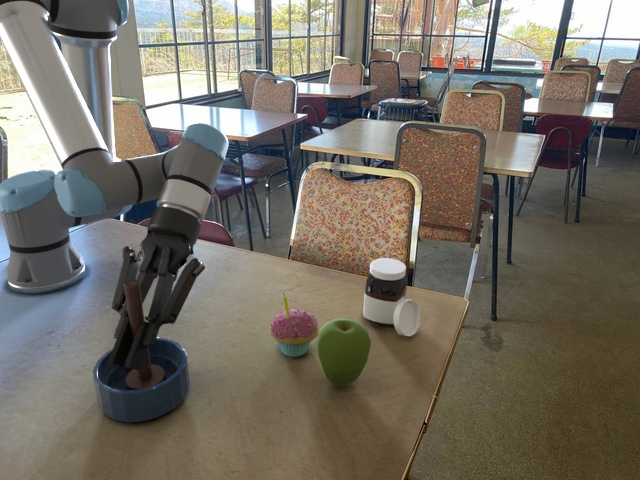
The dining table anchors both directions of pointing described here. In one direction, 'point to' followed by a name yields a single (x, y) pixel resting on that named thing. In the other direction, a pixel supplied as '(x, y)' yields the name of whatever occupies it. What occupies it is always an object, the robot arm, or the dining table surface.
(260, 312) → the dining table surface
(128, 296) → the wooden peg stand
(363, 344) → the apple
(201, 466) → the dining table surface
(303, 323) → the cupcake
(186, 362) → the bowl
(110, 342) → the dining table surface
